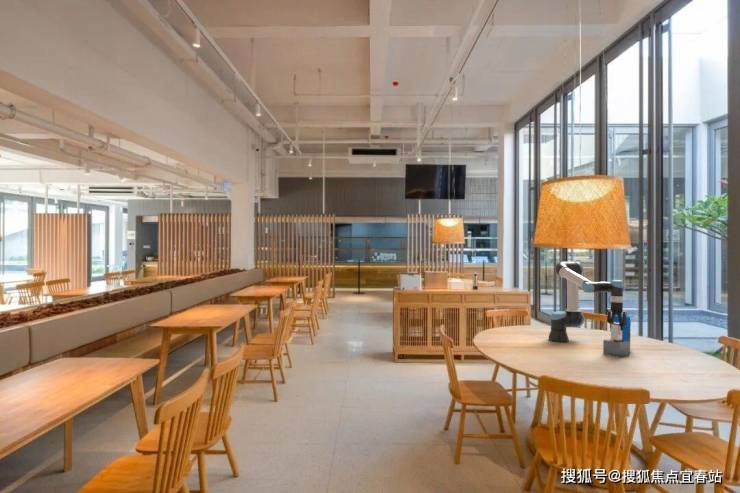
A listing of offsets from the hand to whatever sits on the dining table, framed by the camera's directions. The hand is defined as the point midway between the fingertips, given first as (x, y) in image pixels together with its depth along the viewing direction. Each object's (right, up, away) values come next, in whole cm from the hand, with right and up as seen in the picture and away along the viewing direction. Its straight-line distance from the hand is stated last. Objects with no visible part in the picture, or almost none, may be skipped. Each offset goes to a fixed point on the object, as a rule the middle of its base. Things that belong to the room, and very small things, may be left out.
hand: (616, 333), depth 298 cm
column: (0, -15, 0) cm, 15 cm away
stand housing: (0, -15, 0) cm, 15 cm away
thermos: (+13, -15, +16) cm, 25 cm away
